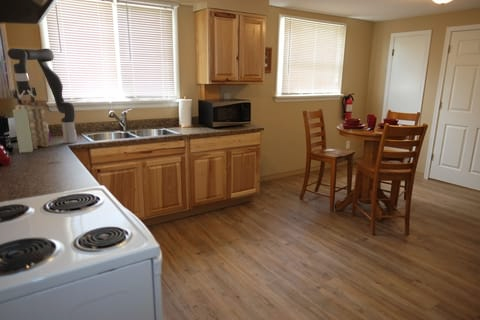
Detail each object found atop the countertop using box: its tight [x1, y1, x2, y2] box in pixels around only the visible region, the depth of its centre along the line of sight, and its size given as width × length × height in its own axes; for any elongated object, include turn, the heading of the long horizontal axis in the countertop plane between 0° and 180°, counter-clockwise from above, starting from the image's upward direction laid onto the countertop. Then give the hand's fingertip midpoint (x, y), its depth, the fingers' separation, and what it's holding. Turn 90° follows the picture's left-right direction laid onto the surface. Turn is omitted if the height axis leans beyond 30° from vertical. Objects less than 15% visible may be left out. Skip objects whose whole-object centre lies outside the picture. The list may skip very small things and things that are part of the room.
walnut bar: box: [21, 99, 48, 107], centre depth 243 cm, size 25×4×4 cm, turn 65°
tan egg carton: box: [14, 104, 50, 150], centre depth 250 cm, size 16×12×32 cm
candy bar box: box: [46, 121, 51, 142], centre depth 271 cm, size 11×5×16 cm, turn 146°
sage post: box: [12, 109, 34, 154], centre depth 233 cm, size 8×8×30 cm
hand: (26, 103), depth 225 cm, fingers open, 8 cm apart
